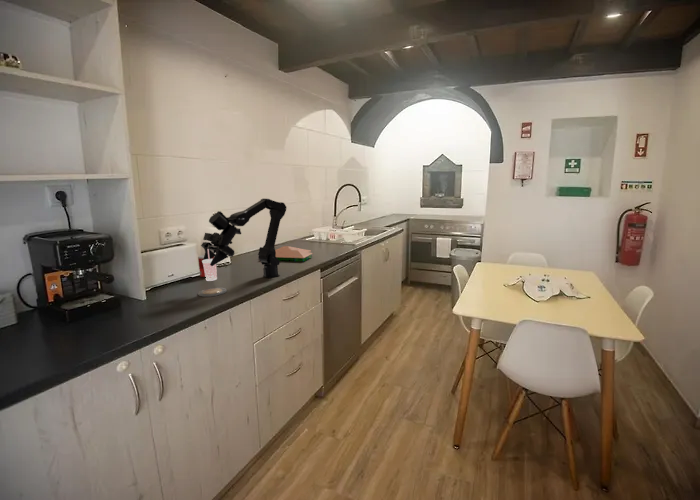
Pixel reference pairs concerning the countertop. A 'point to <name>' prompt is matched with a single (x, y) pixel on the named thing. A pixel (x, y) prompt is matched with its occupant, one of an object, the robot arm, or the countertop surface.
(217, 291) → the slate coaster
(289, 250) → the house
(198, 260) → the canned food
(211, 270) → the beverage cup
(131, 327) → the countertop surface
